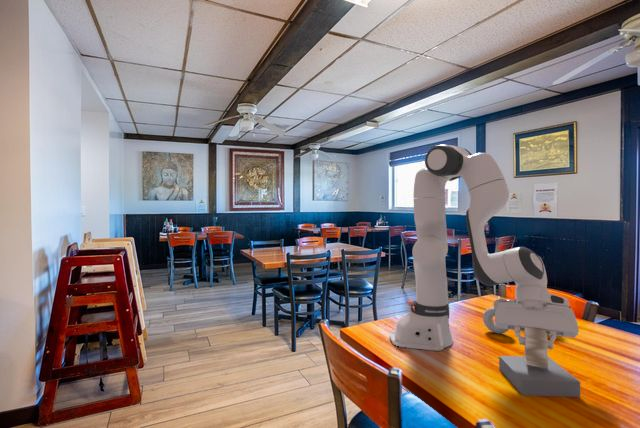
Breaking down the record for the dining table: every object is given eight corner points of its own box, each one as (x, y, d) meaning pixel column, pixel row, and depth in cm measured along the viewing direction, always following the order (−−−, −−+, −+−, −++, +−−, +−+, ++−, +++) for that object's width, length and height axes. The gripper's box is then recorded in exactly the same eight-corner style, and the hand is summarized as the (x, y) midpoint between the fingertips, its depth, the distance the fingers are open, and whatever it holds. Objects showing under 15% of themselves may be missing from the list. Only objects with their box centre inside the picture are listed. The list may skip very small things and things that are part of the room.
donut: (512, 335, 125) (512, 308, 125) (509, 337, 123) (509, 311, 123) (484, 328, 132) (484, 303, 132) (481, 331, 130) (481, 305, 130)
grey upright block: (526, 364, 91) (525, 332, 91) (524, 357, 96) (524, 326, 95) (547, 368, 89) (547, 335, 89) (545, 360, 93) (545, 328, 93)
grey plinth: (522, 395, 86) (522, 380, 86) (499, 368, 100) (499, 355, 100) (580, 397, 85) (580, 381, 85) (548, 370, 99) (548, 356, 98)
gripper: (493, 292, 103) (493, 334, 95) (575, 300, 93) (583, 347, 85) (493, 303, 107) (493, 344, 99) (572, 311, 97) (579, 357, 89)
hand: (536, 346), depth 92 cm, fingers closed on grey upright block, 5 cm apart
